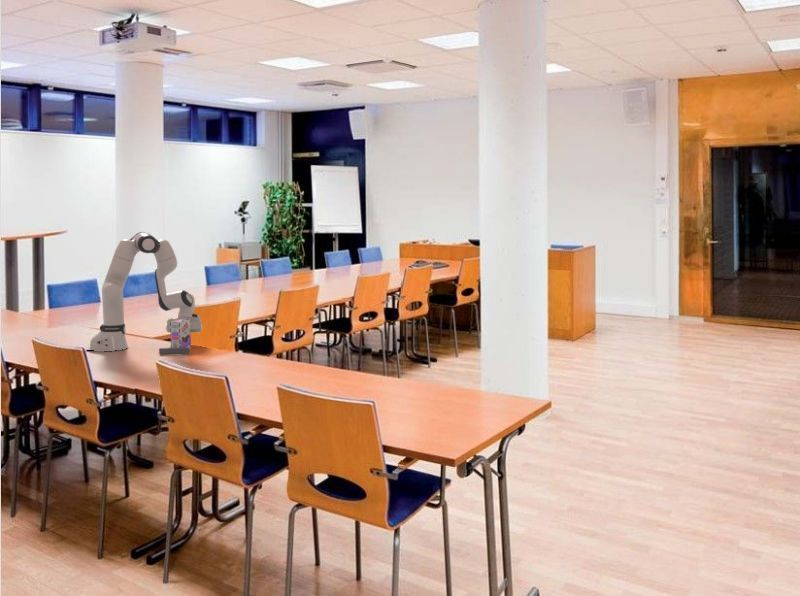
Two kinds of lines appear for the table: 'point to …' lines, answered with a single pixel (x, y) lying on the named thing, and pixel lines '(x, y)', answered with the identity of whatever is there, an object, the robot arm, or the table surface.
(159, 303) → the robot arm
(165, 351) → the slide guide
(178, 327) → the candy box
